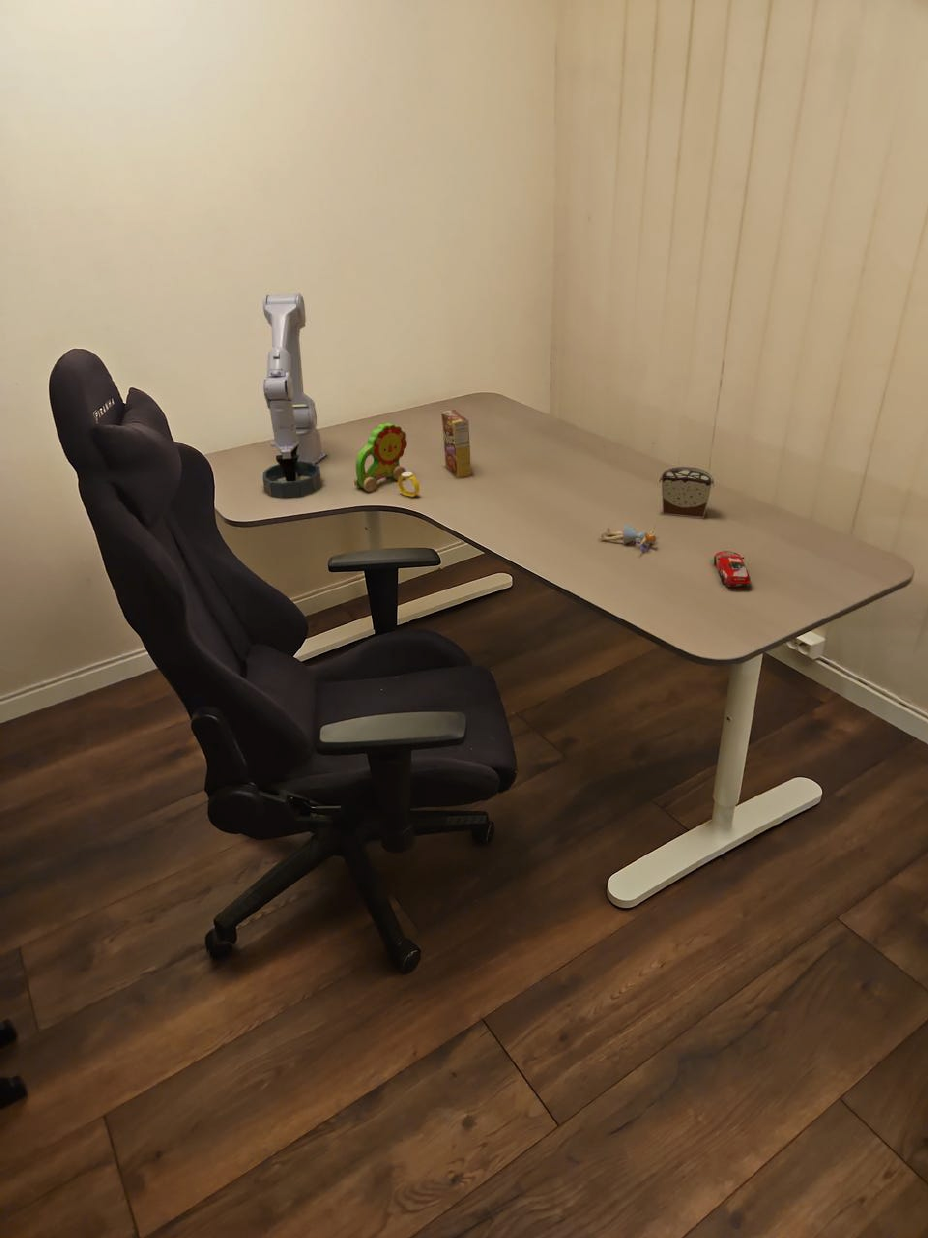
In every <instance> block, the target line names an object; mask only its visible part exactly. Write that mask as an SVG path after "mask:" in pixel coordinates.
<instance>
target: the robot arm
mask: <svg viewBox="0 0 928 1238" xmlns="http://www.w3.org/2000/svg"><path fill="white" fill-rule="evenodd" d="M262 311H263V315H264V318H265V319H266V321H267V323H268V325H270V327H271V342H272V349H271V350H270V351H269V352H268V353H267V362H266V363H267V364H266V365H267V367H266V379H263V382H262V391H263V397H264V400H265V403H266V407H267V409H268V410H269V414H270V422H271V427H272V433H273V439H274V440H273V441H270V443H269V444H270V447H275V448H276V450H278V451H279V452H280V453H281V454H278V455H277V454H276V455H275V460H276V462H277V464H280V466H281V468H282V470H283V472H284V475H285V478H286V480H287V482H290V481H295V480H296V464H297V461H302V462H311V463H313V464H315V465H316V463H318V462H319V461H320V460H322V459H323V458H324V457H326V453H323V447H322V441H321V434H320V431H319V430H318V428H317V426H318V414H317V413H318V412H317V408H316V403H315V401H314V400H313V398H311V397H310V396H309V395H307V394H305V392H304V381H303V369H302V367H303V366H302V355H301V344H300V343H301V342H300V333H301V329H303V328H305V327H306V322H307V317H306V307H305V300H304V297H303V295H302V294H301V293H300V292H299V293H291V294H288V293H287V294H265V295H264V296H263V298H262ZM297 405H299V406H297ZM301 405H302V406H301Z"/></svg>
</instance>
